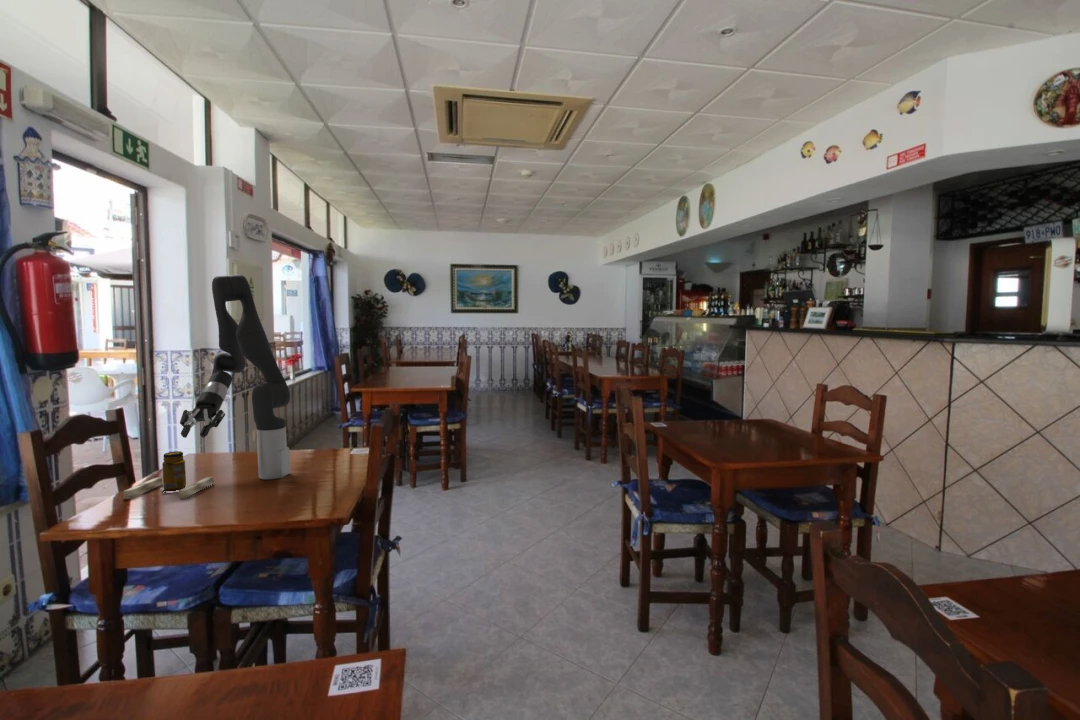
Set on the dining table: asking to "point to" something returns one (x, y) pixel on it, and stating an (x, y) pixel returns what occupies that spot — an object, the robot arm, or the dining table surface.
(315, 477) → the dining table surface
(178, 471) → the condiment
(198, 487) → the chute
